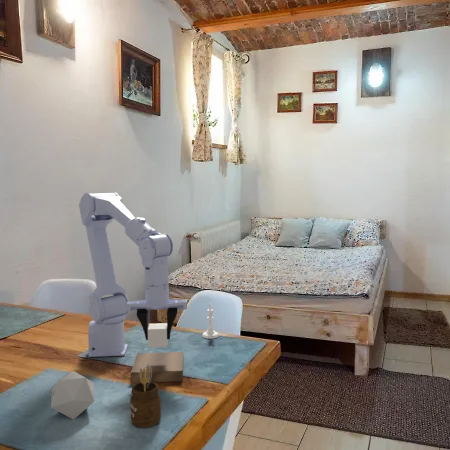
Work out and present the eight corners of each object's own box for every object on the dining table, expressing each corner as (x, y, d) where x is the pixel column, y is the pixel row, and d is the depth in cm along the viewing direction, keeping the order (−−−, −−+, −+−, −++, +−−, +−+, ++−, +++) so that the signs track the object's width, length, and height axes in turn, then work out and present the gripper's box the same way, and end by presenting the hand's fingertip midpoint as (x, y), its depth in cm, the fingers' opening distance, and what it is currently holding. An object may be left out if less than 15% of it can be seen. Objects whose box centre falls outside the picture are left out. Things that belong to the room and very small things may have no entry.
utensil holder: (160, 412, 94) (159, 355, 93) (161, 428, 87) (160, 367, 86) (131, 414, 93) (129, 357, 92) (129, 431, 86) (128, 369, 85)
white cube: (148, 347, 111) (147, 329, 110) (149, 341, 115) (149, 323, 115) (166, 346, 111) (166, 328, 111) (167, 340, 116) (167, 323, 115)
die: (68, 402, 99) (41, 377, 94) (103, 382, 100) (77, 355, 95) (68, 434, 92) (38, 408, 87) (105, 412, 93) (77, 385, 88)
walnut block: (131, 384, 108) (130, 372, 107) (137, 364, 120) (136, 353, 119) (182, 382, 108) (182, 370, 108) (183, 363, 120) (183, 351, 120)
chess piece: (219, 333, 142) (219, 301, 141) (217, 339, 137) (217, 306, 136) (203, 333, 143) (203, 301, 142) (201, 338, 138) (200, 305, 137)
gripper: (124, 288, 107) (126, 345, 109) (186, 286, 109) (187, 342, 110) (128, 282, 114) (129, 335, 116) (186, 280, 116) (187, 333, 117)
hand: (158, 338), depth 113 cm, fingers closed on white cube, 4 cm apart
